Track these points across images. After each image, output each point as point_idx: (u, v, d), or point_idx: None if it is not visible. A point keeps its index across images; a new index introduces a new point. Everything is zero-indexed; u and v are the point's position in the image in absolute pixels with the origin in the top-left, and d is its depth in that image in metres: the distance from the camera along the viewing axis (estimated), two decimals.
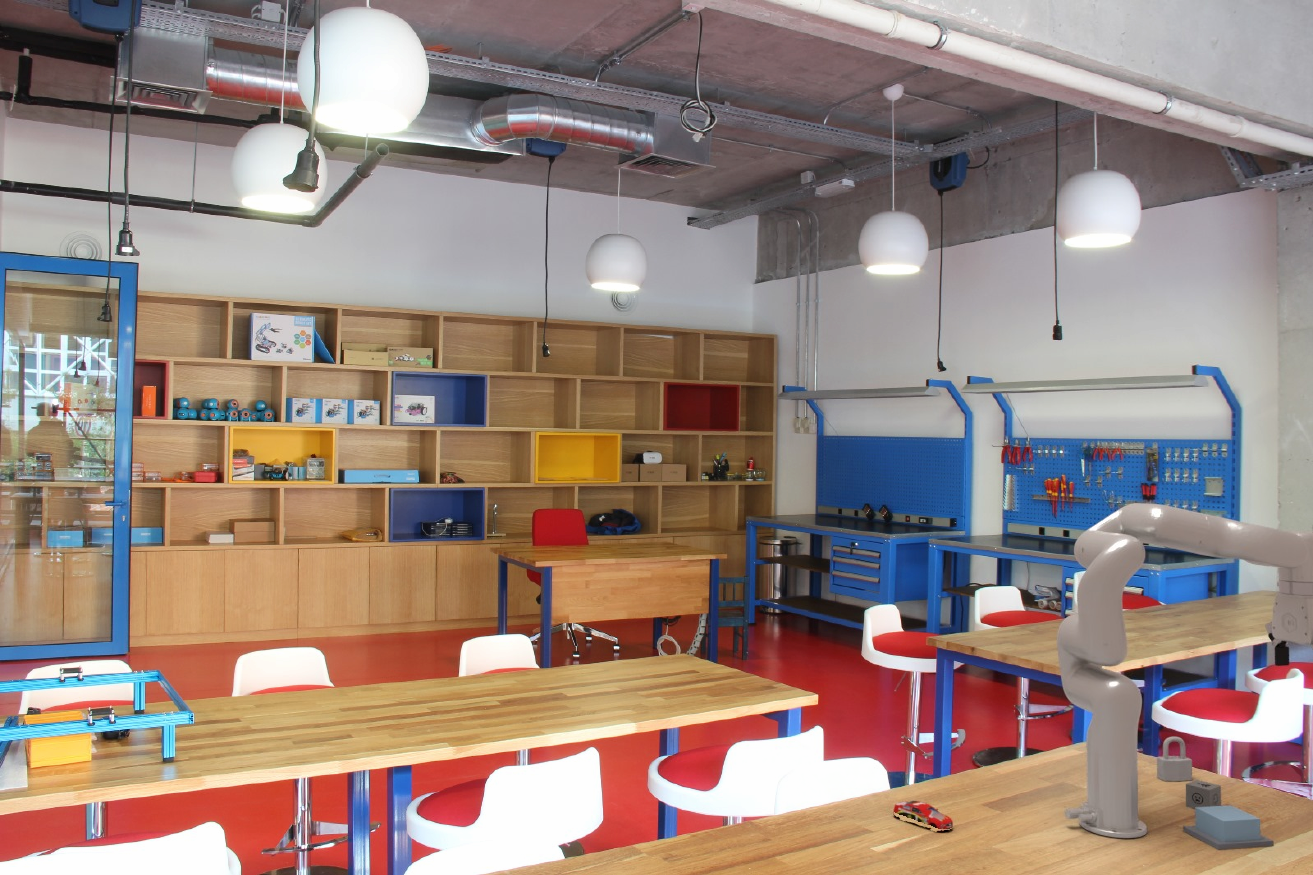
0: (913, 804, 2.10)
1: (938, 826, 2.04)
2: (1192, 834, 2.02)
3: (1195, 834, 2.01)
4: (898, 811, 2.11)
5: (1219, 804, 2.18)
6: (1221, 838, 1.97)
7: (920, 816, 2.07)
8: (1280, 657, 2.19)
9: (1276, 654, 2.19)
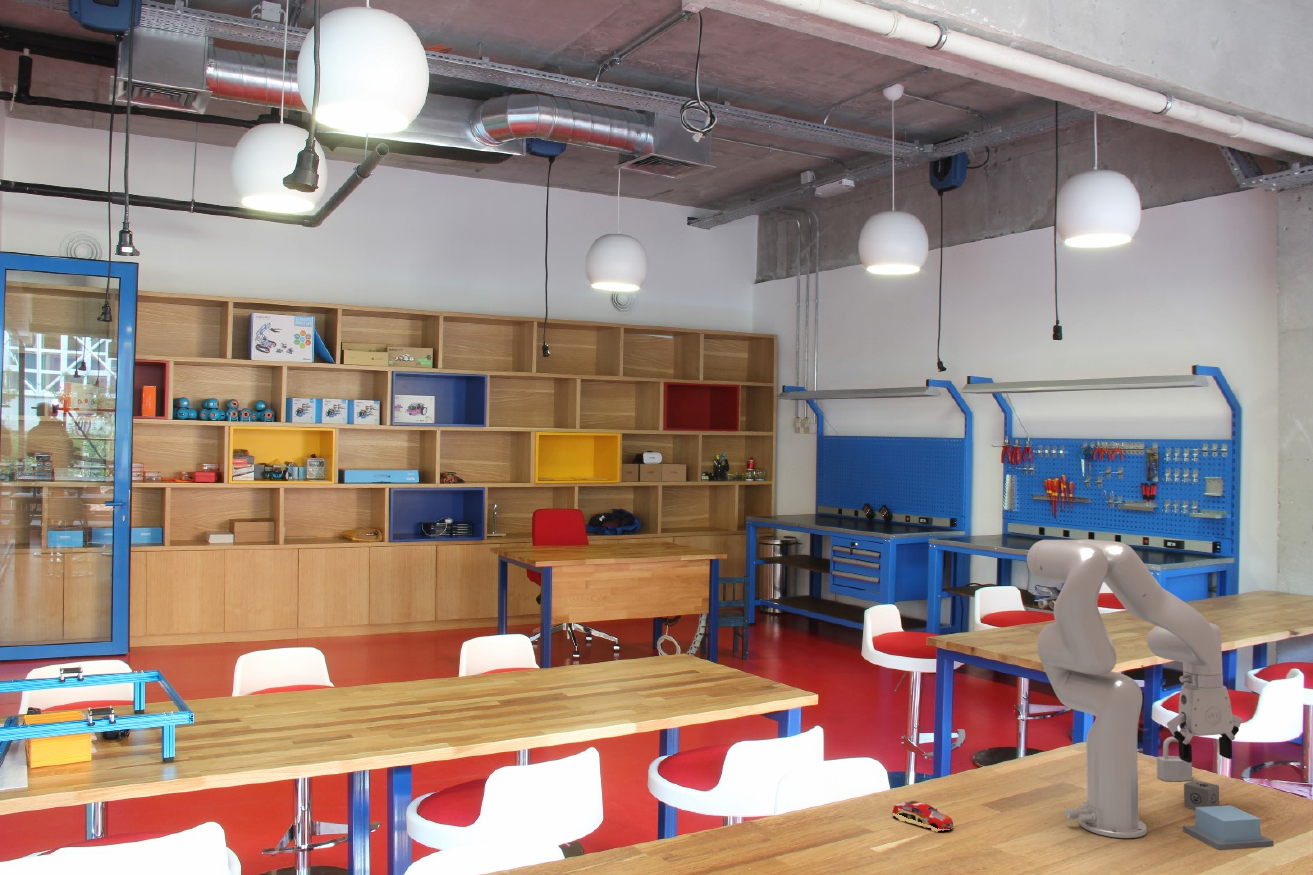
0: (913, 804, 2.09)
1: (939, 826, 2.04)
2: (1192, 834, 2.02)
3: (1195, 834, 2.01)
4: (897, 812, 2.11)
5: (1217, 804, 2.18)
6: (1221, 838, 1.97)
7: (920, 816, 2.07)
8: None
9: (1190, 751, 2.17)
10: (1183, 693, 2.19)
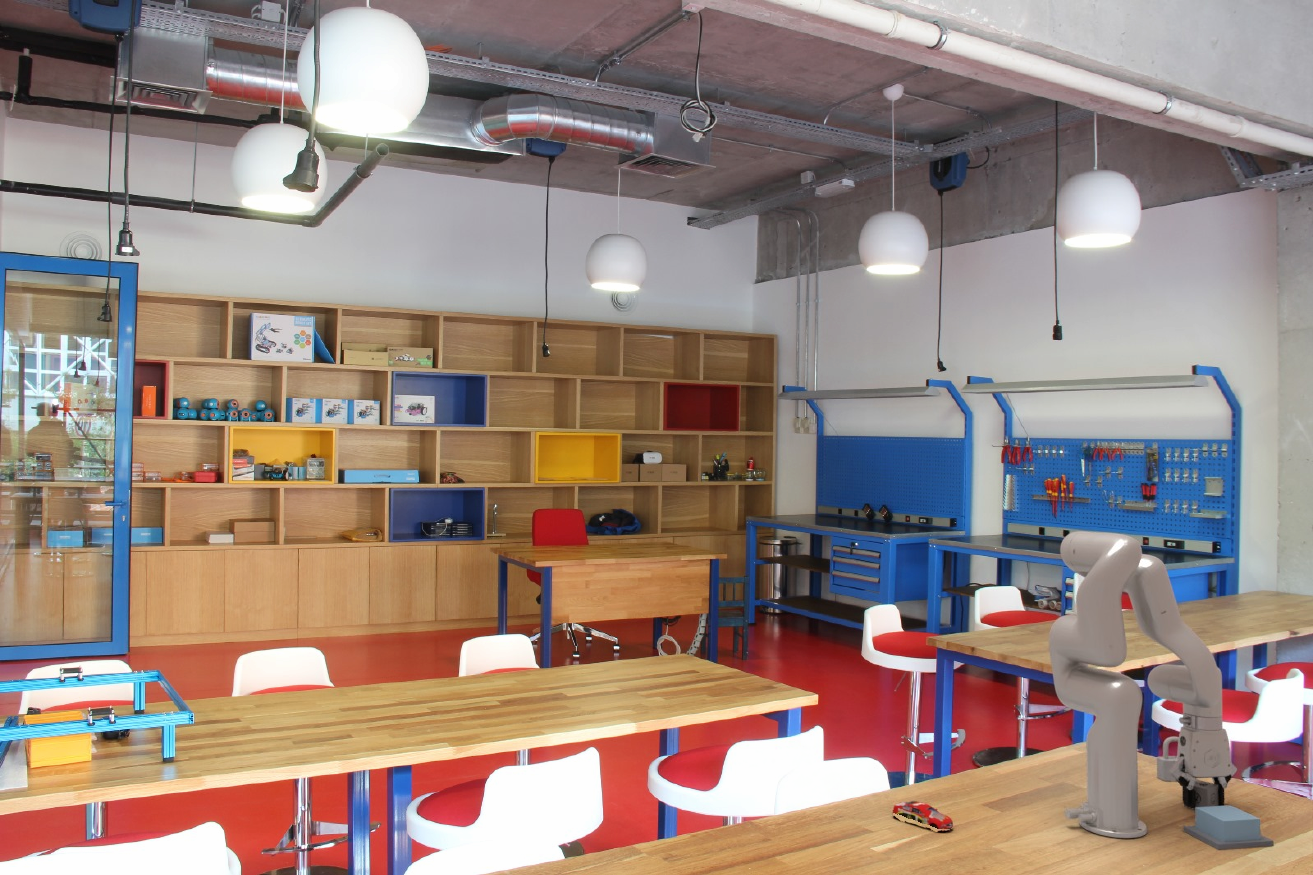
0: (913, 805, 2.09)
1: (939, 826, 2.03)
2: (1192, 834, 2.02)
3: (1195, 834, 2.01)
4: (897, 812, 2.11)
5: (1217, 803, 2.18)
6: (1221, 838, 1.97)
7: (920, 816, 2.07)
8: None
9: (1194, 797, 2.17)
10: (1182, 734, 2.18)
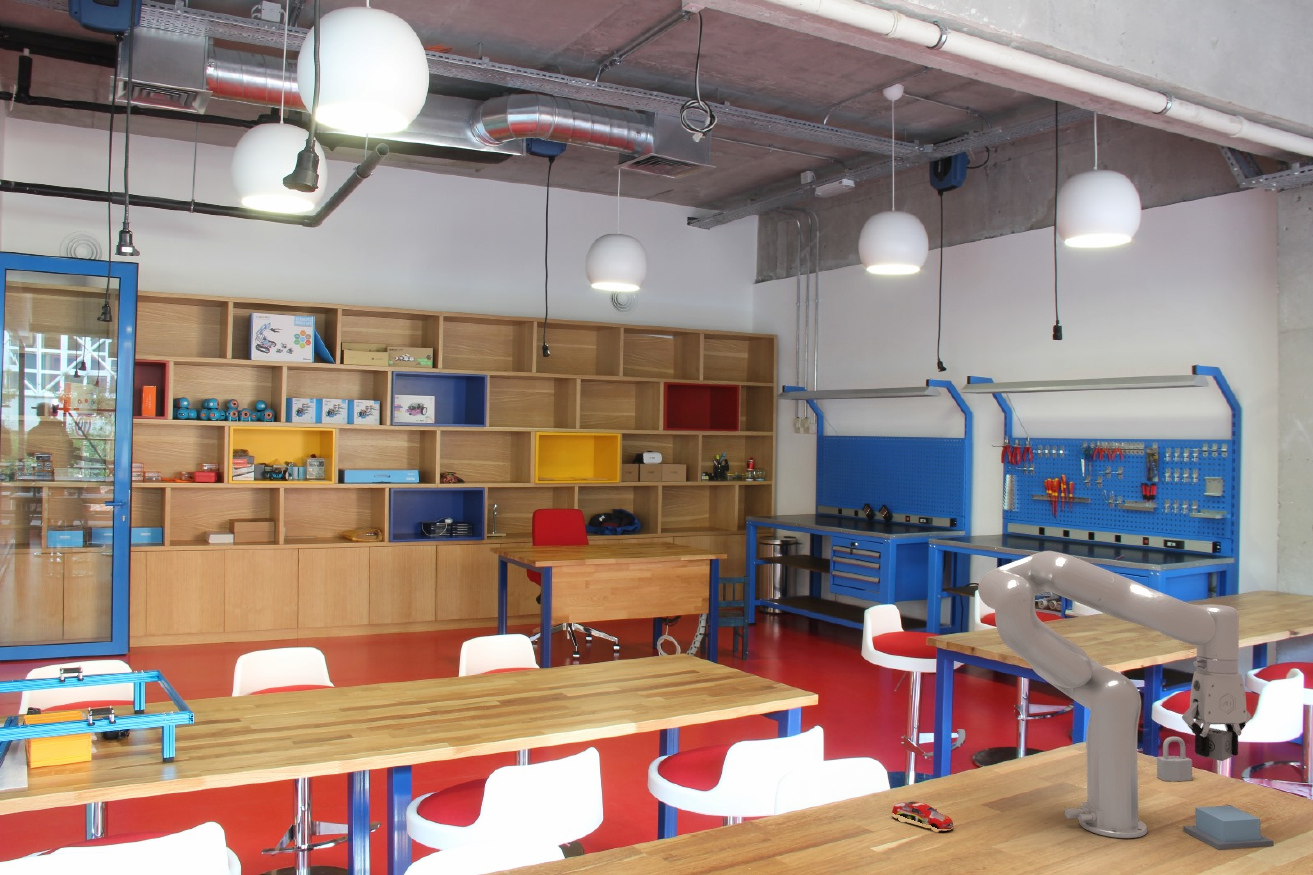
0: (912, 805, 2.09)
1: (939, 826, 2.03)
2: (1192, 834, 2.02)
3: (1195, 834, 2.01)
4: (897, 812, 2.10)
5: (1230, 751, 2.06)
6: (1221, 838, 1.97)
7: (920, 817, 2.06)
8: None
9: (1208, 744, 2.04)
10: (1196, 679, 2.06)
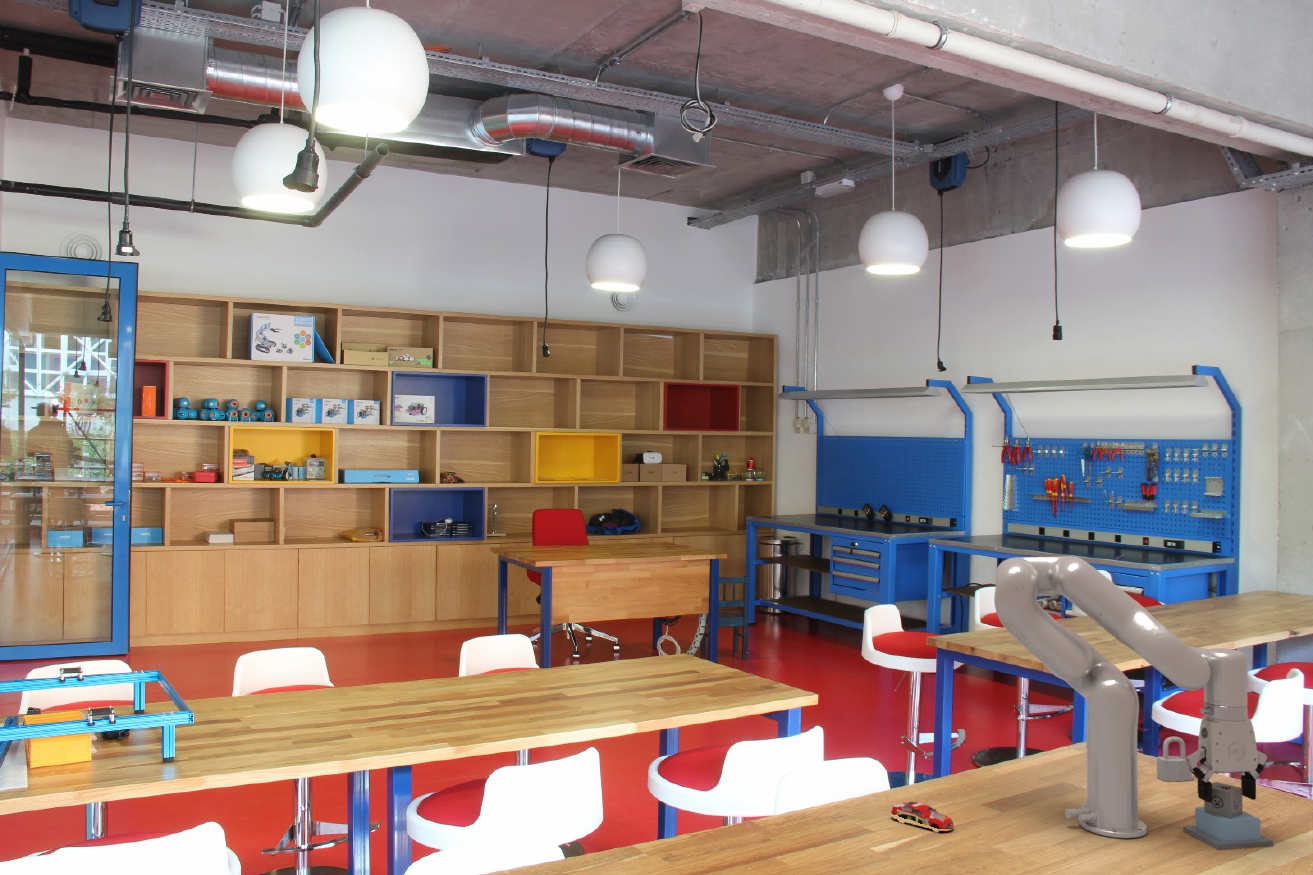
0: (912, 805, 2.09)
1: (940, 827, 2.03)
2: (1192, 834, 2.02)
3: (1195, 834, 2.01)
4: (897, 813, 2.10)
5: (1240, 808, 2.00)
6: (1221, 838, 1.97)
7: (921, 817, 2.06)
8: None
9: (1210, 790, 1.98)
10: (1204, 726, 2.01)
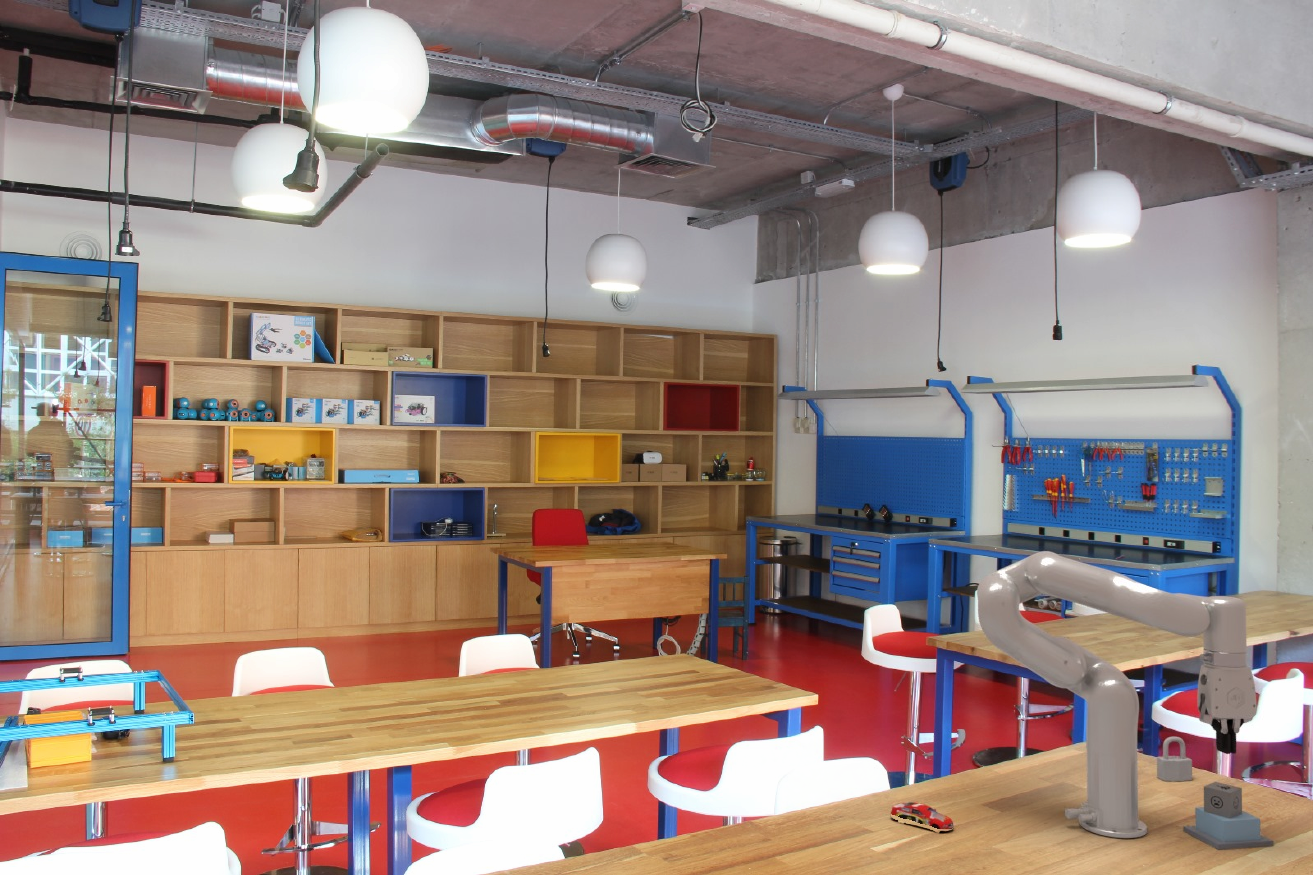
0: (912, 806, 2.09)
1: (941, 827, 2.03)
2: (1192, 834, 2.02)
3: (1195, 834, 2.01)
4: (897, 813, 2.10)
5: (1240, 808, 2.00)
6: (1221, 838, 1.97)
7: (921, 817, 2.06)
8: None
9: (1229, 741, 1.99)
10: (1203, 673, 2.01)
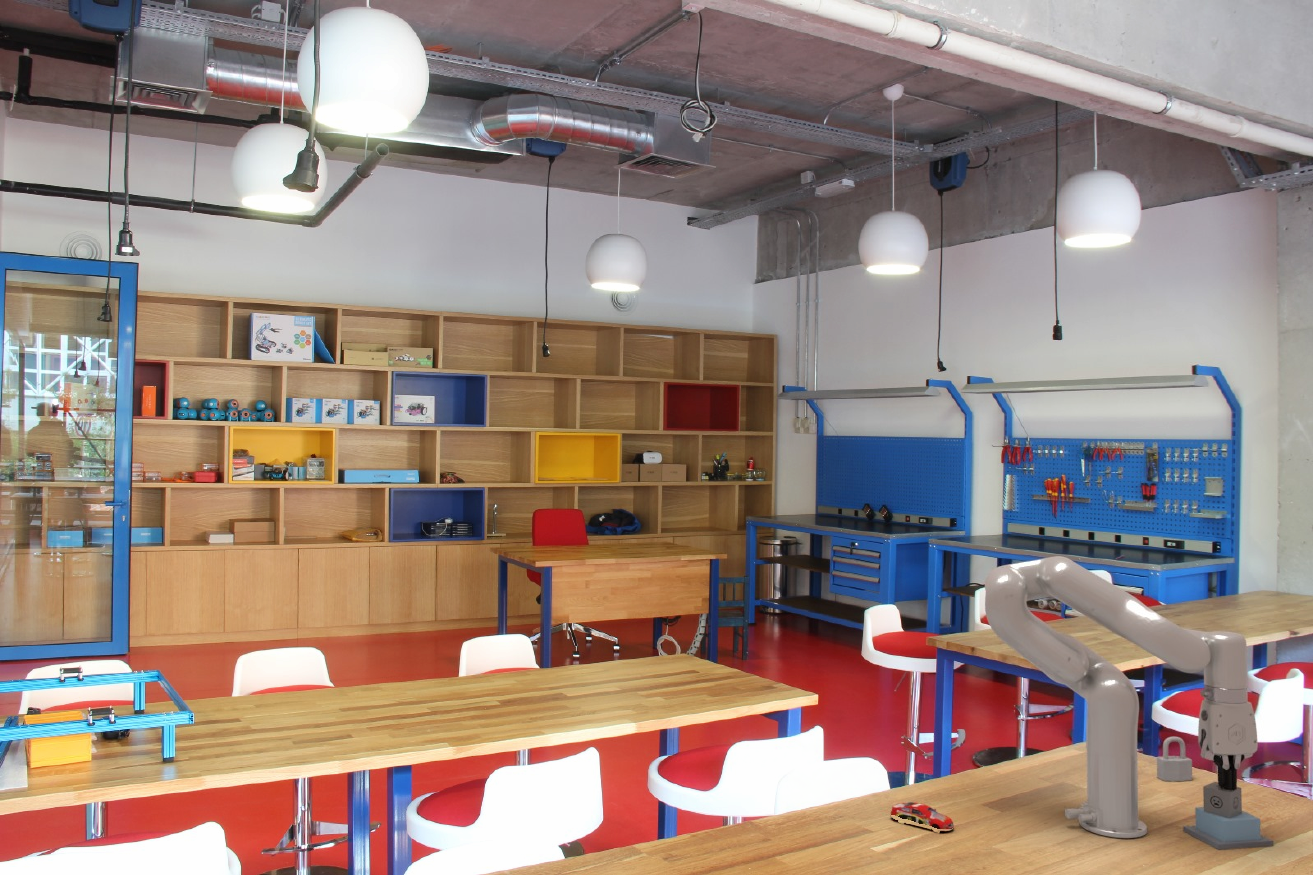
0: (912, 806, 2.09)
1: (941, 827, 2.03)
2: (1192, 834, 2.02)
3: (1195, 834, 2.01)
4: (897, 813, 2.10)
5: (1240, 808, 2.00)
6: (1221, 838, 1.97)
7: (921, 818, 2.06)
8: None
9: (1231, 777, 1.99)
10: (1204, 708, 2.01)
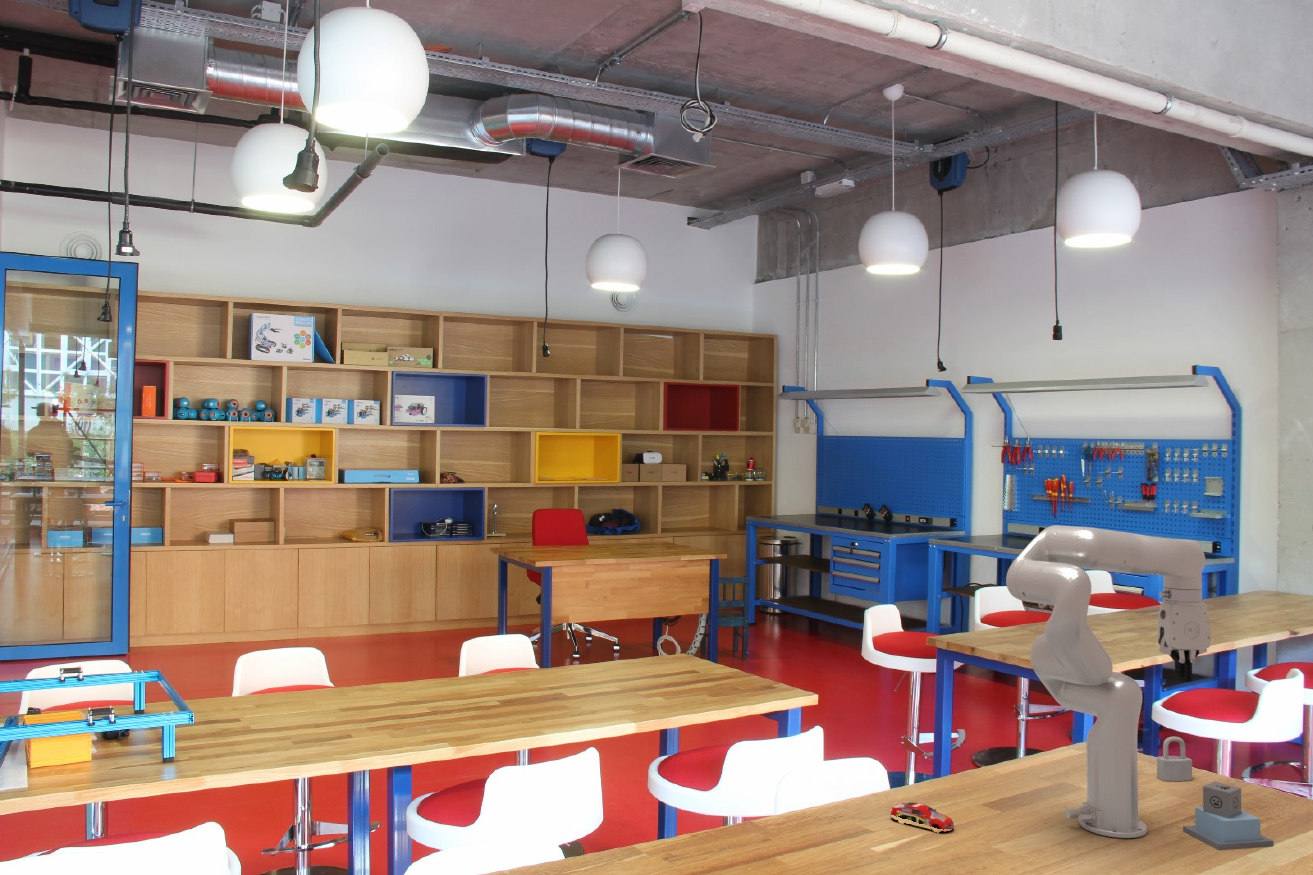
0: (912, 806, 2.08)
1: (941, 827, 2.03)
2: (1192, 834, 2.02)
3: (1195, 834, 2.01)
4: (897, 814, 2.09)
5: (1239, 808, 2.00)
6: (1221, 838, 1.97)
7: (921, 818, 2.06)
8: None
9: (1186, 670, 2.19)
10: (1162, 608, 2.21)
